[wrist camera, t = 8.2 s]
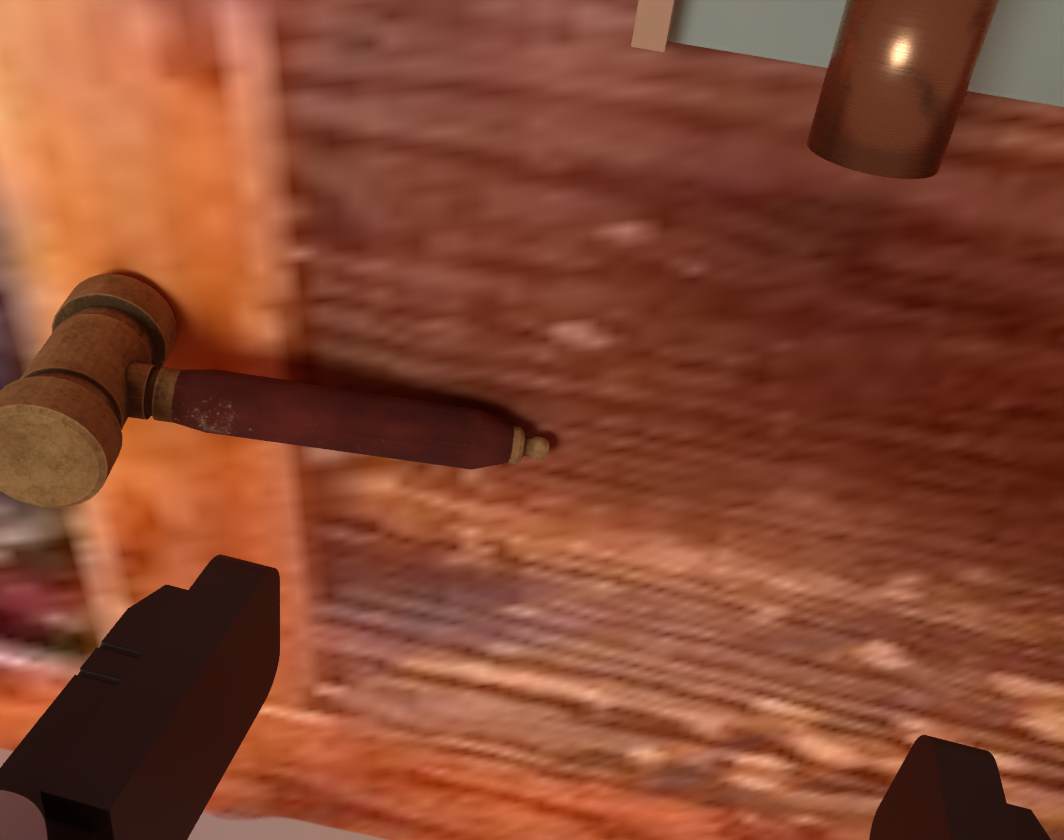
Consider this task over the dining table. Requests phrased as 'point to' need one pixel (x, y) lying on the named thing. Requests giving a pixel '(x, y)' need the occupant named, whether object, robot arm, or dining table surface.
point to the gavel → (199, 404)
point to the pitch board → (812, 24)
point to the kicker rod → (898, 83)
